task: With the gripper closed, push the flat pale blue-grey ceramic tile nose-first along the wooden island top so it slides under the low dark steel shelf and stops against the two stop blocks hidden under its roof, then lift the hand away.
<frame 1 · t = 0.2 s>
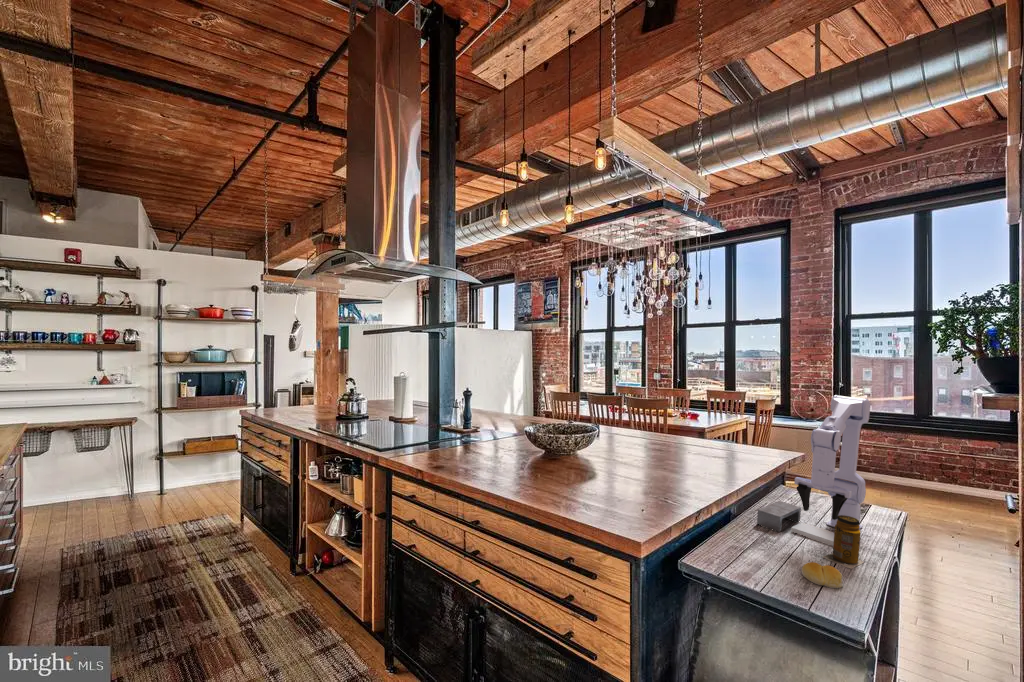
hand: (820, 514, 144), 10 cm above the table, tool pointing down, fingers open, 7 cm apart
tile: (818, 538, 152), on the table
bread roll: (822, 581, 124), on the table
condiment: (843, 561, 136), on the table
shelf: (778, 523, 161), on the table
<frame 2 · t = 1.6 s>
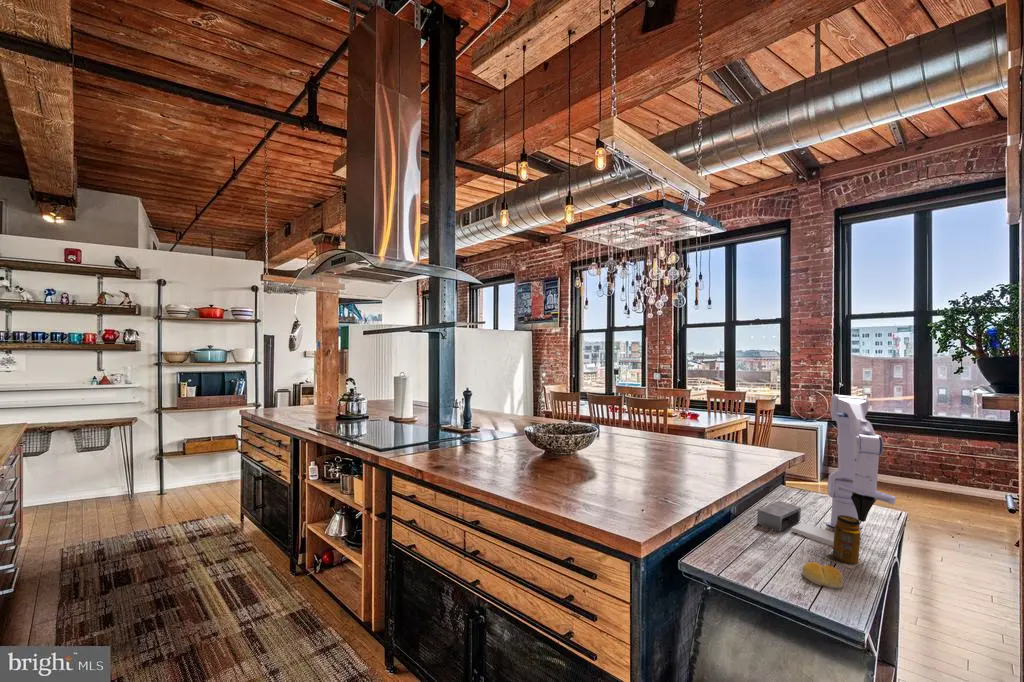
hand: (862, 520, 143), 9 cm above the table, tool pointing down, fingers closed
nothing on the table moved.
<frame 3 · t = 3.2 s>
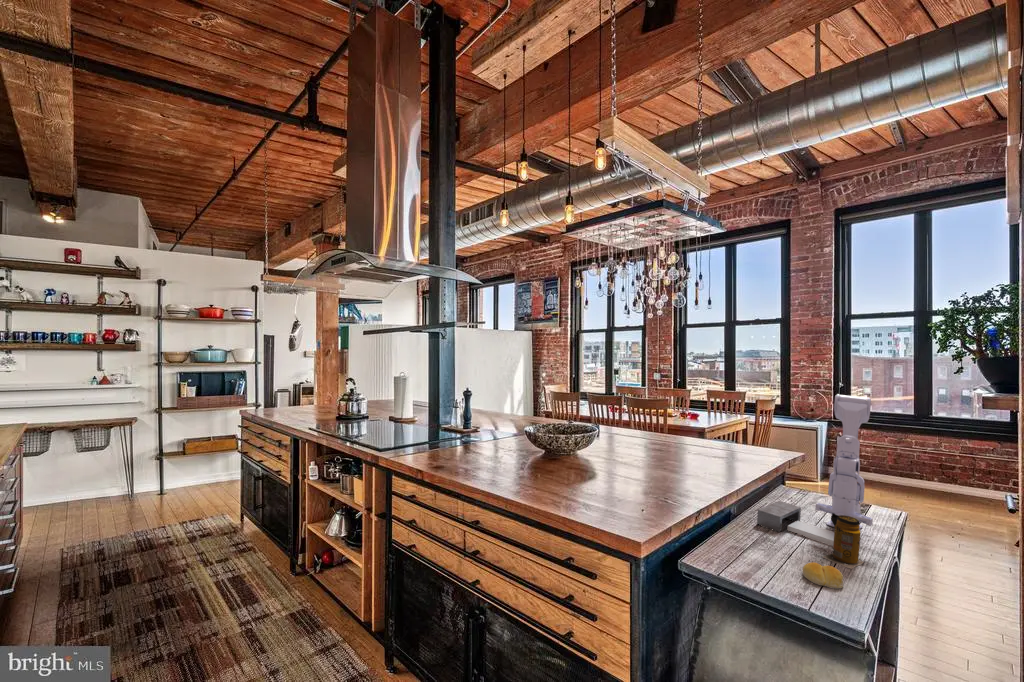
hand: (841, 540, 147), 1 cm above the table, tool pointing down, fingers closed
tile: (814, 536, 153), on the table, touching gripper
everything else where it was.
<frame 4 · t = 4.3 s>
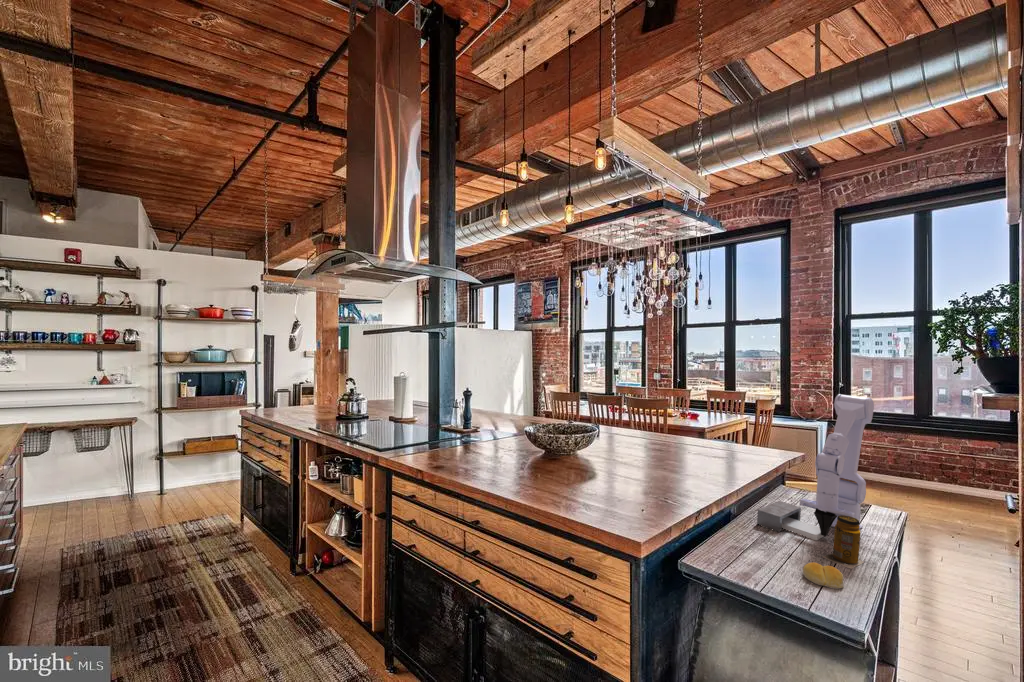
hand: (824, 534, 151), 1 cm above the table, tool pointing down, fingers closed
tile: (798, 531, 156), on the table, touching gripper
everything else where it was.
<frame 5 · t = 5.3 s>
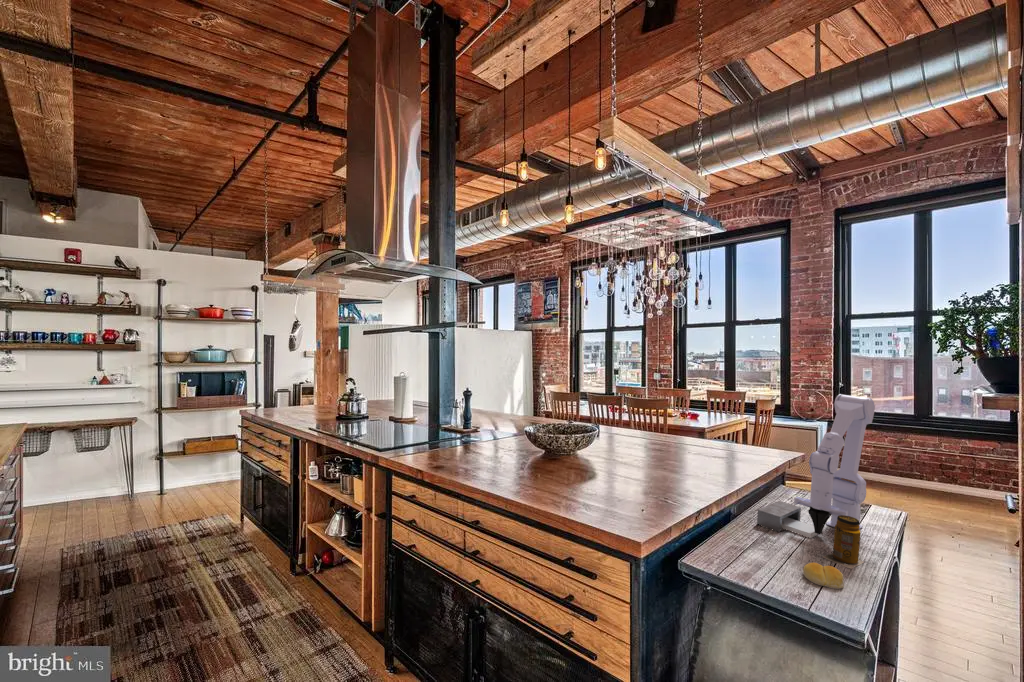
hand: (818, 533, 152), 1 cm above the table, tool pointing down, fingers closed
tile: (793, 529, 158), on the table
everything else where it was.
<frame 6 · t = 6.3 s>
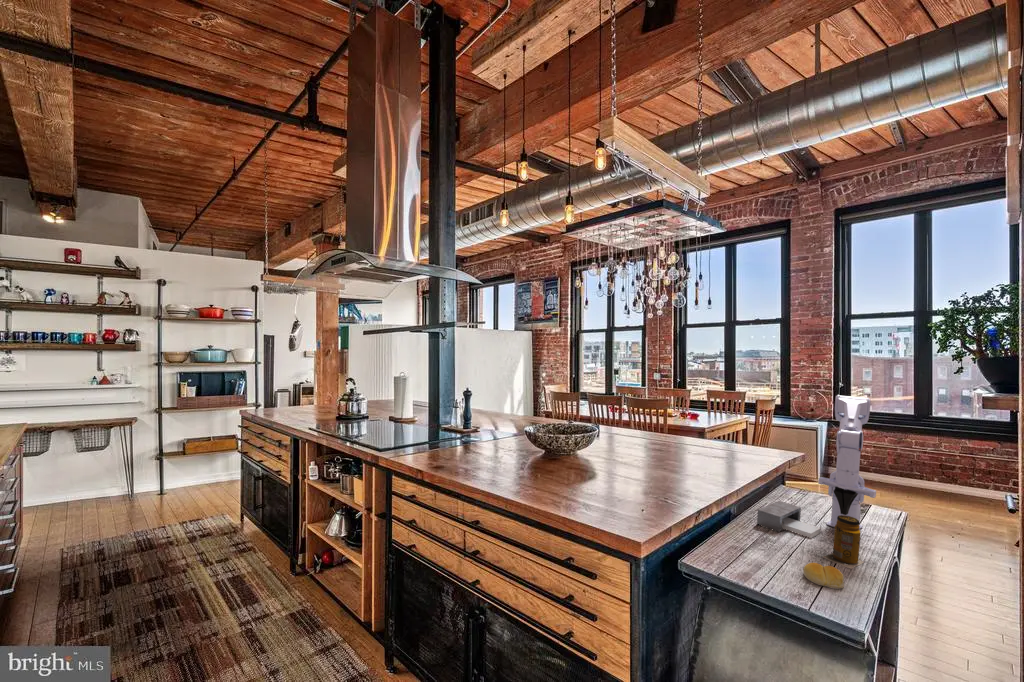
hand: (844, 513, 147), 9 cm above the table, tool pointing down, fingers closed
nothing on the table moved.
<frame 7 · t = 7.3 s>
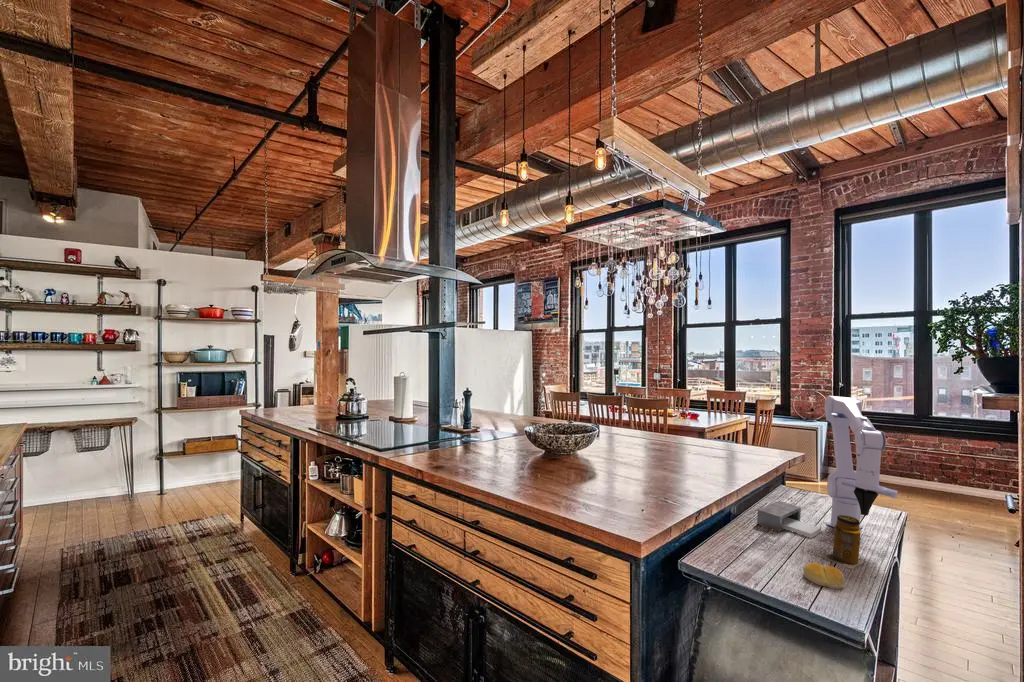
hand: (864, 514, 146), 10 cm above the table, tool pointing down, fingers closed
nothing on the table moved.
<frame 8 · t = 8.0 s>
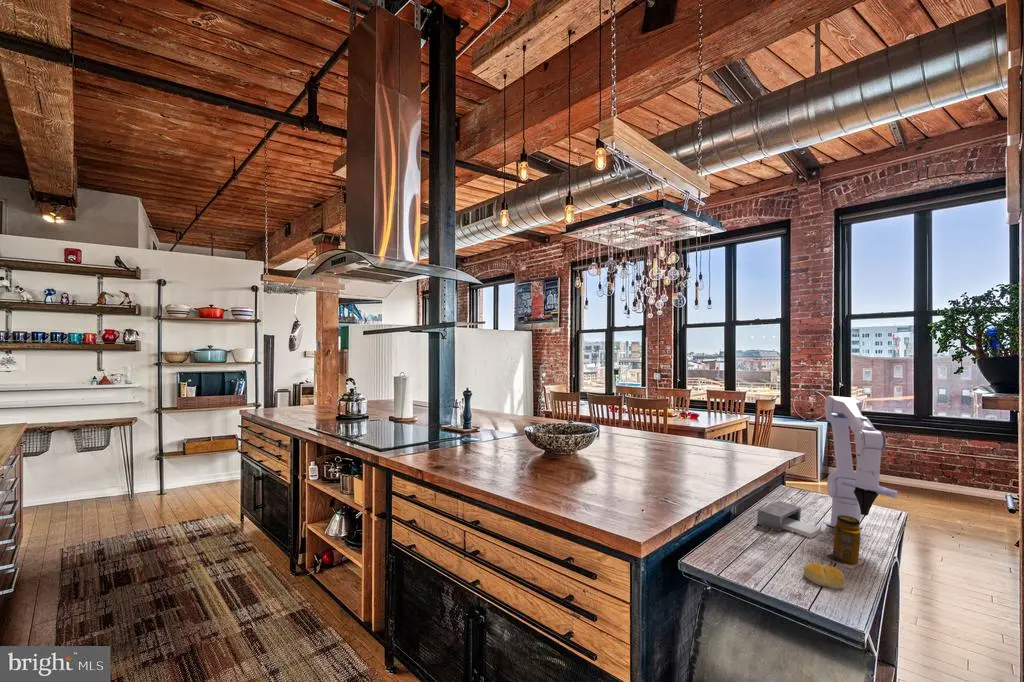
hand: (864, 514, 146), 10 cm above the table, tool pointing down, fingers closed
nothing on the table moved.
at the end: tile 0.2 cm from the target spot, on the table; tile tilted 0° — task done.
